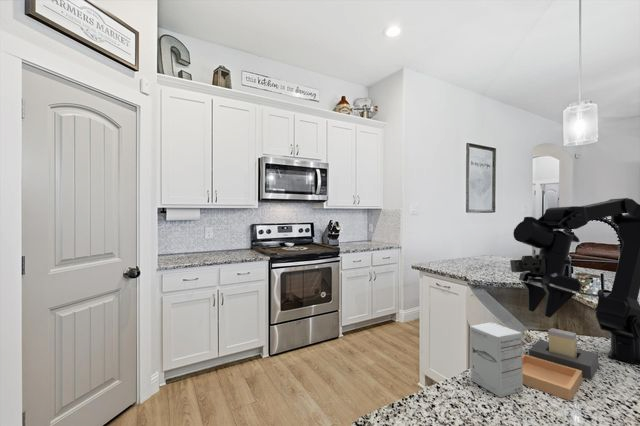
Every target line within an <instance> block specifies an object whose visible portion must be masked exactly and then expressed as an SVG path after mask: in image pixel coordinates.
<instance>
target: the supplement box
mask: <svg viewBox="0 0 640 426" xmlns="http://www.w3.org/2000/svg"><path fill="white" fill-rule="evenodd" d="M469 327H470V328H469V329H470V368H471V369H470V372H471V373H470V374H471V375H470V378H471V379H470V381H472V382H474V383H475V384H477V385H479V386H480V387H483V388H484V389H486V391H488V392H491V393H492V394H494V395H496V396H497V397H498V398H504V397H507V396H511V395H513V394H517V393H520V392H523V390H524V388H523V386H524V384H523V372H522V354H523V343H522V341H523V338H522V337H523V333H522V331H519V330H518V331H517V330H515V329H511V328H509V327H506V326H504V325H500V324H498V323H495V322H493V321H492V322H491V321H490V322H484V323H478V324H474V325H470V326H469Z"/></svg>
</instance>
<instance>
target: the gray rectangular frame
mask: <svg viewBox="0 0 640 426" xmlns="http://www.w3.org/2000/svg"><path fill="white" fill-rule="evenodd" d="M528 355H529V356H532V357H536V358H539V359H543V360H546V361H550V362H553V363H557V364H560V365H564V366H567V367H571V368H574V369H578V370H581V371H582V378H585V379H588V380H591V381H592V379H593V378H594V376H595V374H596V372H597V371H598V369H599V366H600V365H599V362H600V361H599V353H596V352H592V351H588V350H585V349H584V350H583V349H579V348H577V358H573V357H570V356H566V355H562V354H558V353H554V352H551V351H549V340H543V339H539V340H538V341H536V342H535V343H534V345H532V346H531V347H530V348H529V349H528Z"/></svg>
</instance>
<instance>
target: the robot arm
mask: <svg viewBox="0 0 640 426" xmlns="http://www.w3.org/2000/svg"><path fill="white" fill-rule="evenodd" d="M608 217H610V219H611V221H610V222H612V224H614V225H615V226H616V227H617V234H618V236H619V238H620V240H621V241H622V247H621V249H620V250H621V251H620V254H619V258H618V263H617V266H616V271H615V275H614V279H613V283H612V287H611V291H610V293H609V294H608V295H605V296H599V297H598V298H597V305H596V307H595V309H594V311H595V317H596V320H597V323H598V325H599V328H600V330H602V331H606V332H609V334H610V335H609V336H610V349H609V351H608V353H607V358H610V359H615V360H618V361H622V362H626V363H629V364H635V365H638V366H640V303H639V300H638V298H639V294H640V204H639V203H638V202H637V201H635V200H634V199H633V198H629V197H623V198H622V197H621V198H611V199H609V200H605V201H600V202H595V203H590V204H585V205H581V206H577V205H576V206H573V205H572V206H557V207H556V206H555V207H549V208H546V209H545V211H544V214H543V215H541V216H540V217H538V219H537V218H535V217H533V216H524V218H523V220H522V221H521V222H519V223H518V224H517V225H516V227H514V229H513V239H514V240H515V241H516V242H518V243H519V242H520V243H522V244H524V245H527V246H530V247H532V248H536V249H539V253H538V254H535V255H522V256H521V259H510V260H509V263H510V270H511V273H519V278H518V280H519V281H520V284H522V285H523V287H524V288H525V290H526V296H527V307H528V311H529V312H532V313H533V312H534V311H536V309H537V308H538V306H540V304H541V302H542V301H543V300H544V298H545V303H544V304H545V305H544V316H545V317H547V318H551V317H553V316H554V314H556V313H557V312H558V311H559V310H560V309H561V308H562V307H563V306H564V305H565V304H566V303H568V301H569V300H571V299H572V298H573V297H574V296H576V295H577V293H581V291H582V287H583V283H582V282H581V281H580V280H579V279H578V278H576V277H575V278H574V277H572V276H569V275H568V276H567V275H565V272H566V271H565V270H566V266H570V265H571V263H572V262H571V260H568V258H569V255H570V250H571V246H572V243H580V239H579V237H578V236H576V234H575V232H574V231H563V230H577V229H579V228H580V229H581V228H582V227H584V226H586V225H587V224H588V223H589V222H590V221H594V220H599V219H602V218H608Z"/></svg>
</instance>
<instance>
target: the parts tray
mask: <svg viewBox="0 0 640 426" xmlns="http://www.w3.org/2000/svg"><path fill="white" fill-rule="evenodd" d="M522 372H523V386H524V385H525V386H527V387H530V388H533V389H536V390H538V391H541V392H543V393H547V394H549V395H552V396H555V397H558V398H561V399H564V400H567V401H570V402H571V401H572V400H573V398H574V396H575V394H576V393H577V391H578V389H579V388H580V386H581V384H582V383H583V377H582V371H581V370H578V369H574V368H571V367H567V366H564V365H560V364H557V363H553V362H550V361H546V360H543V359H539V358H536V357H532V356H529V354H525V353H522Z"/></svg>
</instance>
